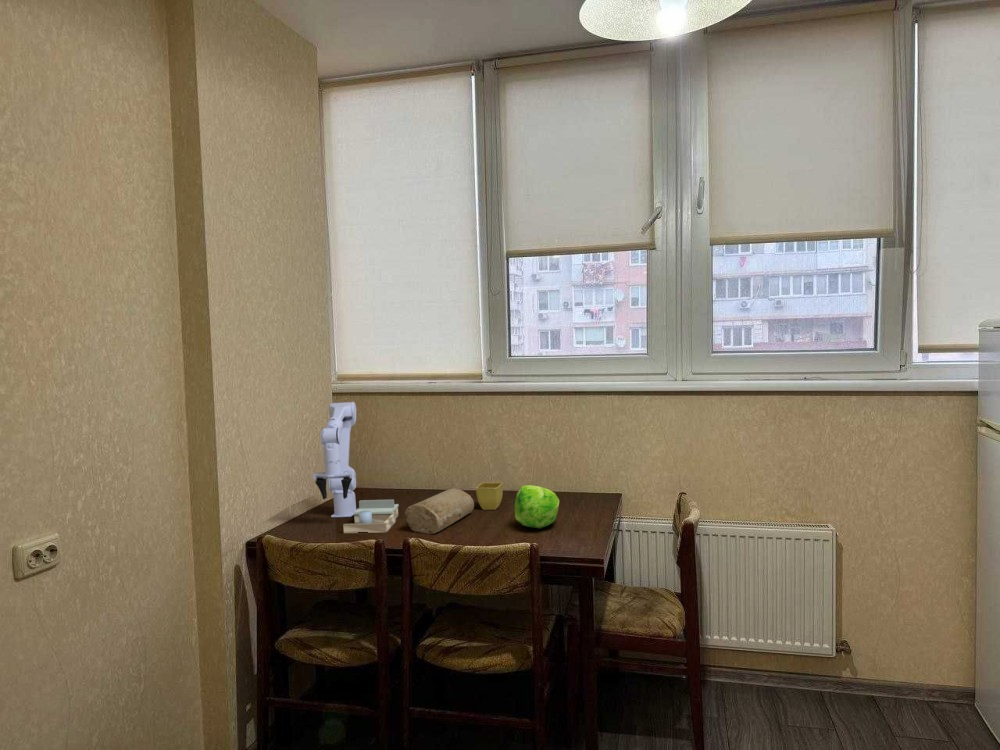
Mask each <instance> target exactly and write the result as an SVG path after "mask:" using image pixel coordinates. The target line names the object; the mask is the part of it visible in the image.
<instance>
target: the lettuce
mask: <svg viewBox="0 0 1000 750" xmlns="http://www.w3.org/2000/svg"><path fill="white" fill-rule="evenodd" d="M559 506H560V499H559V497H558V496H557V494H556V493H555V492H553V491H552V490H550V489H548V488H545V487H542V486H538V485H531V484H529V485H526V484H525V485H522V486H521V487H520V489H519V490H518V491H517V493H516V497H515V502H514V514H515V515H514V516H515V519H516V521H517V522H518V523H520V524H521V525H522V526H525V527H528V528H531V529H534V528H535V529H540V530H541V529H543V528H545V527H547V526H549V525H551V524H553V523H554V521H555V520H556V518H557V515H558V513H559Z"/></svg>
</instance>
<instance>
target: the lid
mask: <svg viewBox="0 0 1000 750" xmlns="http://www.w3.org/2000/svg"><path fill="white" fill-rule="evenodd" d="M396 508H399V503H396V504H395V499H363V500H359V501H358V508H356V509H357V510H356V511H355V512H354V515H355V514H359V512H361V511H371V512H372V514H392V513H393V512H394V511H395V510H396Z"/></svg>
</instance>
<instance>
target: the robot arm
mask: <svg viewBox="0 0 1000 750" xmlns="http://www.w3.org/2000/svg"><path fill="white" fill-rule="evenodd" d="M328 414H329V415H328V416H329V417H330V418H328V420H327V421H326V422H327V423H326V425H325V427H324V428H323V429H321V430H320V442H321V448H322V450H323V461H324V462H323V463H324V472H315V473H313V474H312V478H313V480H314V482H315V484H316V486H317V487H318V490H319V492H320V493H321V496H322V500H326V499H327V498H328V497H327V496H328V493H327V488H328V491H330V492H331V494H332V495H333V507H334V508H333V511H334V513H333V514H331V516H330V517H331V518H352V516H353V517H354V515H355V514H354V512H355V511H356V510H357V509H358V508H357V502H356V494H355V492H354V491H355V489H356V487H357V473H356V471H355V469H354V468H353V467H351V466H350V463H349V462H350V446H351V445H350V443H351V431H352V430H351V429H352V427H353V426H354V425H356V422H357V405H356V403H355V402H354V401H349V402H348V401H346V402H345V401H344V402H330V404H329V406H328Z"/></svg>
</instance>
